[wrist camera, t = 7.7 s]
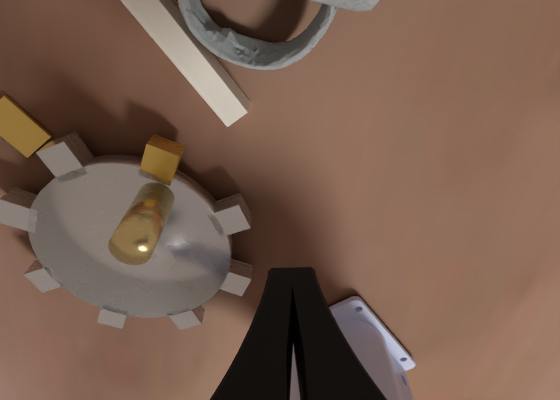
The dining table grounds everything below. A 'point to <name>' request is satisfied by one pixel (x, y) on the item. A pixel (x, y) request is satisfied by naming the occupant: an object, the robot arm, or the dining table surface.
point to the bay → (190, 57)
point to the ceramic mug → (258, 51)
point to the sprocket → (130, 232)
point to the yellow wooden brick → (20, 128)
